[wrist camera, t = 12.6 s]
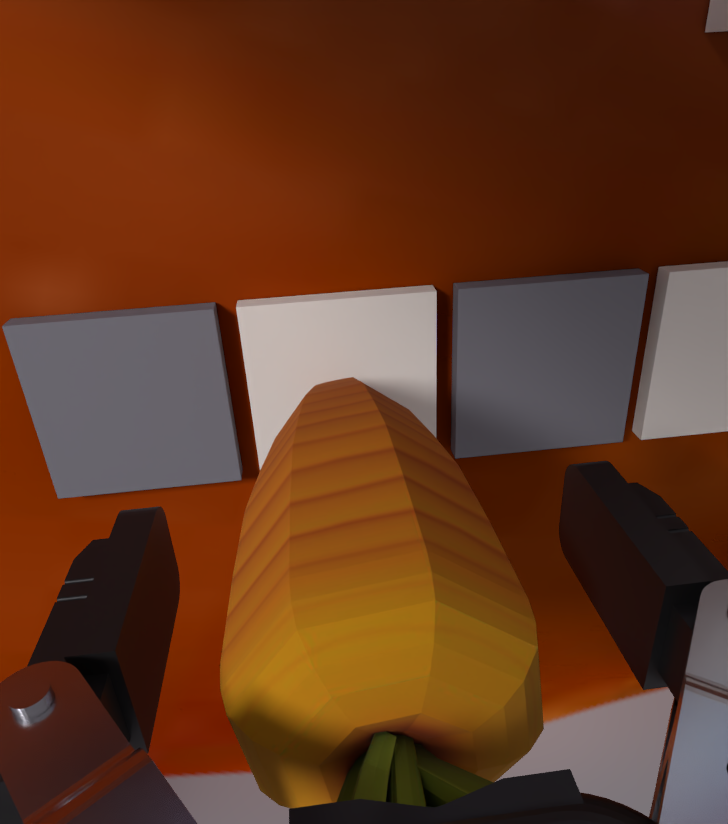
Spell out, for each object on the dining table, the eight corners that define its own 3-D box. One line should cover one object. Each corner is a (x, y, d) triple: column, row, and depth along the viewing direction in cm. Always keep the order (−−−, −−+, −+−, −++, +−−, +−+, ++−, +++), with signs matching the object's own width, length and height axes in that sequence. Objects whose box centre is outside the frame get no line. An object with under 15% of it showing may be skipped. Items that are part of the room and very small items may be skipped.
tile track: (10, 318, 17) (1, 326, 17) (835, 252, 19) (850, 257, 18) (64, 487, 20) (57, 498, 19) (788, 415, 21) (801, 423, 21)
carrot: (240, 452, 19) (141, 1304, 6) (263, 293, 17) (189, 1084, 4) (401, 472, 20) (621, 1243, 7) (443, 324, 18) (883, 1040, 5)
